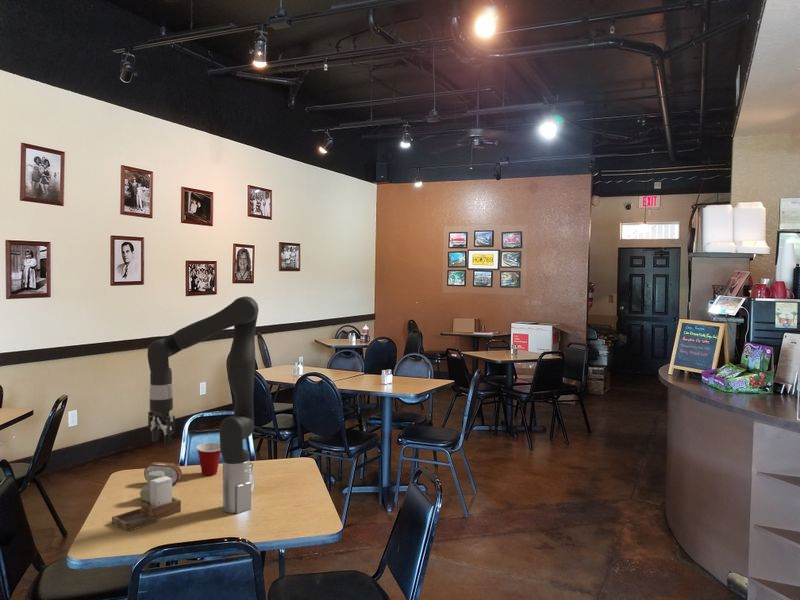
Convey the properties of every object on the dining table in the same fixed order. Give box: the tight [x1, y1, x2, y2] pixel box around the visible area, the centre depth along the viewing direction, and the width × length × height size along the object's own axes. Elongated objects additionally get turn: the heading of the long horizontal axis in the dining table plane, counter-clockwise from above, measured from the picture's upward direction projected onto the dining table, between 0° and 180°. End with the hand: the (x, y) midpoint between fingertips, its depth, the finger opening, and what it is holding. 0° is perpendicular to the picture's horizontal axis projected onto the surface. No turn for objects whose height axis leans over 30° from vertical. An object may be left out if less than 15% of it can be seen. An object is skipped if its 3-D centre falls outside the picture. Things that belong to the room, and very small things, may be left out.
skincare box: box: [150, 476, 173, 507], centre depth 207 cm, size 6×4×12 cm
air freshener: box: [139, 471, 165, 502], centre depth 220 cm, size 11×8×10 cm
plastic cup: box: [196, 442, 222, 477], centre depth 250 cm, size 11×11×12 cm
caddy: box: [111, 496, 182, 532], centre depth 203 cm, size 10×20×4 cm, turn 143°
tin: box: [143, 461, 183, 486], centre depth 238 cm, size 15×3×8 cm, turn 81°
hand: (161, 443), depth 208 cm, fingers open, 8 cm apart
